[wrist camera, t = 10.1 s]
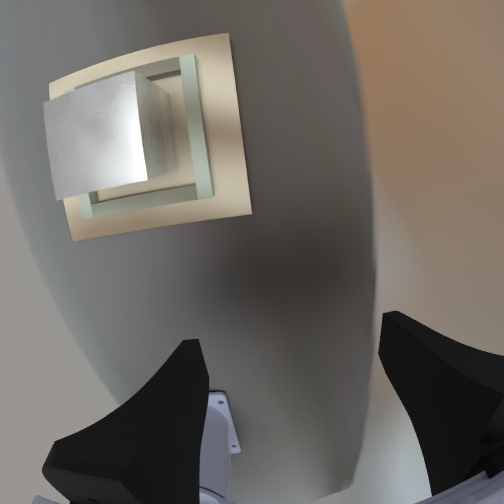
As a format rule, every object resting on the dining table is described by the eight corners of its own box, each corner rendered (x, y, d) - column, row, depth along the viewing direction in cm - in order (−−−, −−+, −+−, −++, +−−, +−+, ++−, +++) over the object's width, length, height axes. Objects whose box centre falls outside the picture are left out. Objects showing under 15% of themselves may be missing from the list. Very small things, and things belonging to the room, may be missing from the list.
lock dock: (251, 209, 19) (252, 218, 17) (81, 236, 19) (64, 247, 17) (229, 39, 15) (227, 25, 13) (58, 85, 15) (39, 81, 13)
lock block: (178, 168, 17) (147, 179, 11) (109, 182, 17) (56, 200, 11) (169, 93, 15) (134, 70, 10) (99, 111, 15) (43, 102, 10)
